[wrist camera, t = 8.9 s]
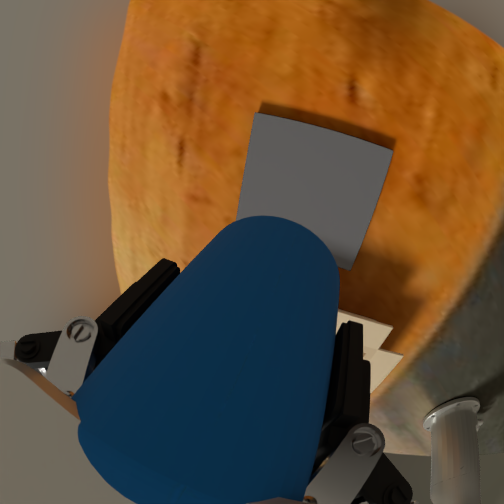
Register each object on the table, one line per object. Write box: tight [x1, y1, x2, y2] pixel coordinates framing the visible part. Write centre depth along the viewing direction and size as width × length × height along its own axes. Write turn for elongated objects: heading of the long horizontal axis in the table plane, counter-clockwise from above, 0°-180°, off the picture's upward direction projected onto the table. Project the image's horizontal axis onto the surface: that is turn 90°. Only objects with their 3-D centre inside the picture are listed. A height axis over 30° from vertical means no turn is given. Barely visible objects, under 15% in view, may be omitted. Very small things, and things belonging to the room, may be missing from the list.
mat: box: [236, 113, 393, 271], centre depth 26 cm, size 13×13×1 cm
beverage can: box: [71, 215, 340, 504], centre depth 8 cm, size 6×6×12 cm
